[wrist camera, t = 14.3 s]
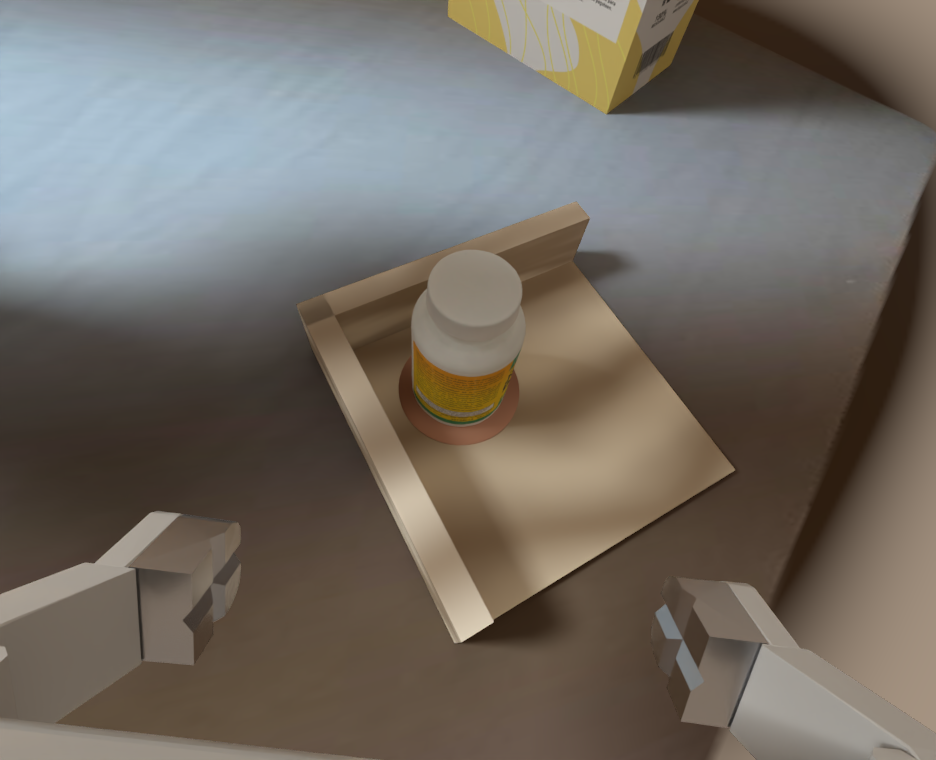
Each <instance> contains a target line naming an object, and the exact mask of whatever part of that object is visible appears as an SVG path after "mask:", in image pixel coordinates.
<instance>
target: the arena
mask: <svg viewBox="0 0 936 760" xmlns="http://www.w3.org/2000/svg"><path fill="white" fill-rule="evenodd" d="M589 219H590V217H589V216H588V215H587V214H586V213H585V211H584V210H583V209H582V208H581V207H580V205H579V204H578V203H577V202H573V203H571V204H568V205H565V206H562V207H560V208H557V209H554V210H552V211H549V212H546V213H543V214H541V215H538V216H535V217H532V218H530V219H527V220H524V221H522V222H519V223H516V224H513V225H511V226H508V227H505V228H502V229H500V230H497V231H494V232H492V233H489V234H486V235H483V236H481V237H478V238H475V239H472V240H470V241H467V242H464V243H462V244H459V245H456V246H453V247H451V248H448V249H445V250H442V251H440V252H437V253H434V254H432V255H429V256H426V257H423V258H421V259H418V260H415V261H412V262H410V263H407V264H404V265H402V266H399V267H396V268H393V269H391V270H388V271H385V272H382V273H380V274H377V275H374V276H372V277H369V278H366V279H363V280H361V281H358V282H355V283H352V284H350V285H347V286H344V287H342V288H339V289H336V290H333V291H331V292H328V293H325V294H322V295H320V296H317V297H314V298H312V299H309V300H306V301H303V302H301V303H298V304H296V305H297V308H298V311H299V314H300V317H301V319H302V322H303V325H304V328H305V331H306V334H307V337H308V339H309V342H310V345H311V348H312V350H313V352H314V354H315V356H316V358H317V361H318V363H319V365H320V367H321V369H322V371H323V373H324V375H325V377H326V379H327V381H328V383H329V385H330V387H331V389H332V392H333V394H334V396H335V398H336V400H337V402H338V404H339V406H340V408H341V410H342V412H343V414H344V416H345V418H346V420H347V423H348V425H349V427H350V429H351V431H352V433H353V435H354V437H355V439H356V441H357V443H358V445H359V447H360V449H361V451H362V454H363V456H364V458H365V460H366V462H367V464H368V466H369V468H370V470H371V472H372V474H373V476H374V478H375V480H376V482H377V485H378V487H379V489H380V491H381V493H382V495H383V497H384V499H385V501H386V503H387V505H388V507H389V509H390V511H391V513H392V516H393V518H394V520H395V522H396V524H397V526H398V528H399V530H400V532H401V534H402V536H403V538H404V540H405V542H406V544H407V547H408V549H409V551H410V553H411V555H412V557H413V559H414V561H415V563H416V565H417V567H418V569H419V571H420V573H421V575H422V578H423V580H424V582H425V584H426V586H427V588H428V590H429V592H430V594H431V596H432V598H433V600H434V602H435V604H436V606H437V609H438V611H439V613H440V615H441V617H442V619H443V621H444V623H445V625H446V627H447V629H448V631H449V633H450V635H451V637H452V640H453V642H454V643H460V642H463V641H465V640H466V639H468V638H469V637H471V636H473V635H474V634H476V633H477V632H479V631H481V630H482V629H484V628H485V627H487V626H489V625H490V624H492V623H494V621H493V620H494V619H495V618H497V617H498V616H500V615H502V614H503V613H505V612H507V611H508V610H510V609H511V608H513V607H515V606H516V605H518V604H519V603H521V602H523V601H524V600H526V599H528V598H529V597H531V596H532V595H534V594H536V593H537V592H539V591H540V590H542V589H544V588H545V587H547V586H549V585H550V584H552V583H553V582H555V581H557V580H558V579H560V578H562V577H563V576H565V575H566V574H568V573H570V572H571V571H573V570H574V569H576V568H578V567H579V566H581V565H583V564H584V563H586V562H587V561H589V560H591V559H592V558H594V557H596V556H597V555H599V554H600V553H602V552H604V551H605V550H607V549H608V548H610V547H612V546H613V545H615V544H617V543H618V542H620V541H621V540H623V539H625V538H626V537H628V536H629V535H631V534H633V533H634V532H636V531H638V530H639V529H641V528H642V527H644V526H646V525H647V524H649V523H651V522H652V521H654V520H655V519H657V518H659V517H660V516H662V515H663V514H665V513H667V512H668V511H670V510H672V509H673V508H675V507H676V506H678V505H680V504H681V503H683V502H685V501H686V500H688V499H689V498H691V497H693V496H694V495H696V494H697V493H699V492H701V491H702V490H704V489H706V488H707V487H709V486H710V485H712V484H714V483H715V482H717V481H718V480H720V479H722V478H723V477H725V476H727V475H728V474H730V473H731V472H733V471H735V469H734V468H733V466H732V465H731V464H730V462H729V461H728V460H727V459H726V457H725V456H724V455H723V453H722V452H721V451H720V450H719V448H718V447H717V446H716V444H715V443H714V442H713V441H712V439H711V438H710V437H709V435H708V434H707V433H706V432H705V430H704V429H703V428H702V426H701V425H700V424H699V423H698V421H697V420H696V419H695V417H694V416H693V415H692V414H691V412H690V411H689V410H688V408H687V407H686V406H685V405H684V403H683V402H682V401H681V399H680V398H679V397H678V396H677V394H676V393H675V392H674V390H673V389H672V388H671V387H670V385H669V384H668V383H667V382H666V380H665V379H664V378H663V376H662V375H661V374H660V373H659V371H658V370H657V369H656V367H655V366H654V365H653V364H652V362H651V361H650V360H649V358H648V357H647V356H646V355H645V353H644V352H643V351H642V349H641V348H640V347H639V346H638V344H637V343H636V342H635V340H634V339H633V338H632V337H631V335H630V334H629V333H628V331H627V330H626V329H625V328H624V326H623V325H622V324H621V322H620V321H619V320H618V319H617V317H616V316H615V315H614V313H613V312H612V311H611V310H610V308H609V307H608V306H607V304H606V303H605V302H604V301H603V299H602V298H601V297H600V296H599V294H598V293H597V292H596V290H595V289H594V288H593V287H592V285H591V284H590V283H589V281H588V280H587V279H586V278H585V276H584V275H583V274H582V272H581V271H580V270H579V269H578V267H577V266H576V265H575V263H574V262H573V259H574V257H575V254H576V252H577V249H578V247H579V244H580V242H581V239H582V237H583V234H584V232H585V229H586V227H587V224H588V222H589ZM462 250H481V251H486V252H490V253H493V254H495V255H498V256H500V257H501V258H503V259H504V260H505V261H507V262H508V263H509V264H510V265H511V266H512V267H513V268H514V269H515V270H516V272H517V274H518V276H519V278H520V280H521V284H522V300H521V304H520V306H521V308H522V310H523V313H524V317H525V323H526V331H525V338H524V342H523V345H522V348H521V351H520V354H519V356H518V359H517V361H516V364H515V367H514V370H513V373H512V375H511V378H510V381H509V384H508V386H507V389H506V392H505V395H504V397H503V400H502V402H501V404H500V406H499V407H498V408H497V410H496V411H495V412H494V413H493V414H492V415H491V416H490V417H489V418H487V419H486V420H484V421H482V422H481V423H479V424H476V425H472V426H466V427H455V426H449V425H445V424H443V423H440V422H438V421H436V420H435V419H433V418H432V417H430V416H429V415H428V414H427V413H426V412H425V411H424V410H423V409H422V408H421V407H420V406H419V404H418V403H417V401H416V398H415V396H414V393H413V388H412V336H411V321H412V314H413V310H414V307H415V304H416V302H417V300H418V299H419V297H420V296H421V294H422V293H423V292H424V291H425V290H426V289H427V284H428V279H429V276H430V273H431V271H432V269H433V268H434V266H435V265H436V264H437V263H438V262H439V261H440V260H441V259H443V258H444V257H446V256H448V255H450V254H452V253H454V252H458V251H462Z"/></svg>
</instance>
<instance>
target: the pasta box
mask: <svg viewBox="0 0 936 760" xmlns="http://www.w3.org/2000/svg"><path fill="white" fill-rule="evenodd" d="M698 1H699V0H449V3H448V17H449V18H451V19H453V20H454V21H456V22H458V23H459V24H461V25H462V26H464V27H466V28H467V29H469V30H470V31H472V32H474V33H475V34H477V35H479V36H480V37H482V38H483V39H485V40H487V41H488V42H490V43H492V44H493V45H495V46H496V47H498V48H500V49H501V50H503V51H505V52H506V53H508V54H509V55H511V56H513V57H514V58H516V59H517V60H519V61H521V62H522V63H524V64H526V65H527V66H529V67H530V68H532V69H534V70H535V71H537V72H539V73H540V74H542V75H543V76H545V77H547V78H548V79H550V80H552V81H553V82H555V83H556V84H558V85H560V86H561V87H563V88H564V89H566V90H568V91H569V92H571V93H573V94H574V95H576V96H577V97H579V98H581V99H582V100H584V101H586V102H587V103H589V104H590V105H592V106H594V107H595V108H597V109H599V110H600V111H602V112H603V113H605V114H608V113H609V112H610V111H611V110H613V109H614V108H615V107H617V106H618V105H619V104H620V103H622V102H623V101H624V100H626V99H627V98H628V97H630V96H631V95H632V94H633V93H635V92H636V91H637V90H639V89H640V88H641V87H642V86H644V85H645V84H646V83H648V82H649V81H650V80H652V79H653V78H654V77H655V76H657V75H658V74H659V73H661V72H662V71H663V70H664V69H666V68H667V67H668V66H670V65H671V63H672V61H673V58H674V56H675V54H676V51H677V49H678V47H679V44H680V42H681V40H682V38H683V35H684V33H685V31H686V28H687V26H688V24H689V21H690V19H691V17H692V15H693V12H694V10H695V7H696V5H697V3H698Z"/></svg>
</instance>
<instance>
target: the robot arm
mask: <svg viewBox="0 0 936 760" xmlns="http://www.w3.org/2000/svg"><path fill="white" fill-rule="evenodd" d="M240 543H241V530H240V526H239V524H238V523H237V522H234V521H227V520H220V519H214V518H207V517H200V516H193V515H186V514H184V515H182V514H179V513H171V512H162V511H156V512H151V513H150V514H148V515H147V516H146V517H145V518H144V519H143V520H142V521H141V522H139V523H138V524H137V525H136V526H135V527H134V528H133V529H132V530H131V531H129V532H128V533H127V534H126V535H125V536H124V537H123V538H122V539H121V540H120V541H118V542H117V543H116V544H115V545H114V546H113V547H112V548H111V549H110V550H108V551H107V552H106V553H105V554H104V555H103V556H102V557H101V558H100V559H99V560H97V561H96V562H95V563H94V564H93V563H82V564H80V565H77V566H74V567H72V568H69V569H66V570H64V571H61V572H58V573H56V574H53V575H50V576H48V577H45V578H42V579H40V580H37V581H34V582H32V583H29V584H26V585H24V586H21V587H18V588H16V589H13V590H10V591H8V592H5V593H2V594H0V760H379V759H370V758H361V757H351V756H342V755H333V754H324V753H315V752H306V751H297V750H288V749H279V748H270V747H261V746H252V745H243V744H234V743H225V742H216V741H207V740H198V739H189V738H180V737H171V736H162V735H153V734H144V733H135V732H126V731H117V730H108V729H99V728H90V727H81V726H72V725H63V724H54V723H55V722H57V721H58V720H60V719H61V718H63V717H64V716H66V715H67V714H69V713H70V712H71V711H73V710H74V709H76V708H77V707H79V706H80V705H82V704H83V703H85V702H86V701H88V700H89V699H90V698H92V697H93V696H95V695H96V694H98V693H99V692H101V691H102V690H104V689H105V688H107V687H108V686H110V685H111V684H112V683H114V682H115V681H117V680H118V679H120V678H121V677H123V676H124V675H126V674H127V673H129V672H130V671H131V670H133V669H134V668H136V667H137V666H139V665H140V664H141V663H142V662H141V661H151V662H163V663H174V664H186V665H194V664H195V663H196V661H197V659H198V658H199V656H200V655H201V653H202V652H203V650H204V648H205V647H206V645H207V644H208V642H209V641H210V639H211V637H212V636H213V622H214V621H216V620H218V619H220V618H221V617H223V616H225V615H226V613H227V612H228V610H229V608H230V607H231V605H232V603H233V601H234V598H235V595H236V592H237V589H238V586H239V580H240V574H241V562H240V561H239V559H238V558H237V557H236V555H235V554H234V551H235V550H236V548H237V547H238V546H239V544H240ZM661 595H662V597H663V599H664V601H665V603H666V604H665V605H664V606H663V607H662V608H660V609H659V610H658V611H657V612H655V615H654V619H653V623H652V627H651V644H652V649H653V654H654V657H655V660H656V662H657V665H658V667H659V668H660V669H661V670H663V671H664V672H665V673H666V674H667V675H668V676H669V677H670V679H669V682H668V685H667V689H668V692H669V694H670V697H671V699H672V701H673V704H674V706H675V709H676V711H677V713H678V716H679V718H680V721H682V722H689V723H696V724H703V725H709V726H716V727H723V728H730V730H729V731H730V732H731V733H732V734H733V735H734V737H735V738H736V739H737V740H738V741H739V742H740V743H741V744H742V745H743V746H744V747H745V748H746V749H747V750H748V751H749V752H750V753H751V755H752V756H753V757H754V758H755V759H756V760H936V733H935V732H933V731H932V730H930V729H929V728H927V727H926V726H924V725H923V724H921V723H920V722H918V721H917V720H915V719H914V718H912V717H910V716H909V715H907V714H906V713H904V712H903V711H901V710H900V709H898V708H897V707H895V706H894V705H892V704H891V703H889V702H888V701H886V700H885V699H883V698H881V697H880V696H879V695H877V694H875V693H874V692H873V691H871V690H870V689H868V688H866V687H865V686H863V685H862V684H860V683H859V682H857V681H856V680H854V679H853V678H851V677H850V676H848V675H847V674H845V673H844V672H842V671H841V670H839V669H838V668H836V667H835V666H833V665H831V664H830V663H829V662H827V661H826V660H824V659H822V658H821V657H819V656H818V655H816V654H815V653H813V652H812V651H810V650H808V649H800V647H799V646H798V645H797V643H796V642H795V641H794V639H793V638H792V637H791V635H789V633H788V631H787V630H786V629H785V628H784V626H783V625H782V624H781V622H780V621H779V620H778V618H777V617H776V616H775V614H774V613H773V612H772V610H771V609H770V608H769V607H768V605H767V604H766V603H765V601H764V600H763V599H762V597H761V596H760V595H759V593H758V592H757V591H756V589H755V588H754V587H752V586H751V585H749V584H747V583H738V582H727V581H720V582H719V581H710V580H701V579H692V578H683V577H674V576H669V577H668V578H667V579H666V581H665V582H664V585H663V588H662V591H661Z"/></svg>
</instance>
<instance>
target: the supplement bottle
mask: <svg viewBox="0 0 936 760" xmlns="http://www.w3.org/2000/svg"><path fill="white" fill-rule="evenodd" d="M521 300H522V284H521V280H520V278H519V276H518V274H517V272H516V270H515V269H514V268H513V267H512V266H511V265H510V264H509V263H508V262H507V261H505V260H504V259H503V258H501V257H500V256H498V255H495V254H493V253H490V252H486V251H481V250H462V251H458V252H454V253H452V254H450V255H448V256H446V257H444V258H443V259H441V260H440V261H439V262H438V263H437V264H436V265H435V266H434V268H433V269H432V271H431V273H430V276H429V279H428V284H427V289H426V290H425V291H424V292H423V293H422V294H421V296H420V297H419V299H418V300H417V302H416V304H415V307H414V310H413V314H412V321H411V336H412V388H413V393H414V396H415V398H416V401H417V403H418V404H419V406H420V407H421V408H422V409H423V410H424V411H425V412H426V413H427V414H428V415H429V416H430V417H432V418H433V419H435V420H436V421H438V422H440V423H443V424H445V425H449V426H455V427H466V426H472V425H476V424H479V423H481V422H482V421H484V420H486V419H487V418H489V417H490V416H491V415H492V414H493V413H494V412H495V411H496V410H497V408H498V407H499V406H500V404H501V402H502V400H503V397H504V395H505V392H506V389H507V386H508V384H509V381H510V378H511V375H512V373H513V370H514V367H515V364H516V361H517V359H518V356H519V354H520V351H521V348H522V345H523V342H524V338H525V331H526V323H525V317H524V313H523V310H522V308H521V306H520V304H521Z"/></svg>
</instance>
